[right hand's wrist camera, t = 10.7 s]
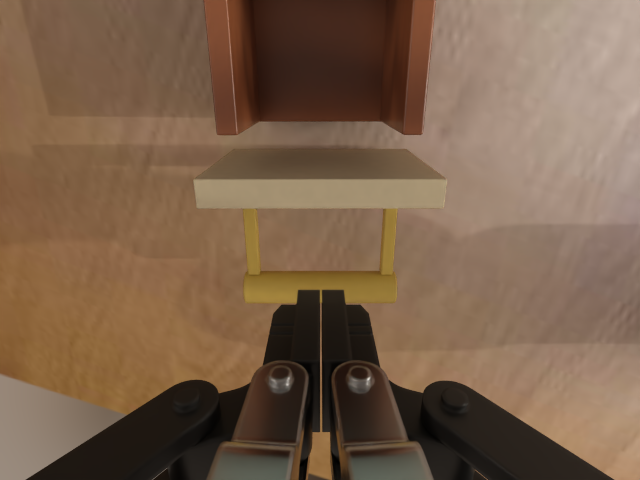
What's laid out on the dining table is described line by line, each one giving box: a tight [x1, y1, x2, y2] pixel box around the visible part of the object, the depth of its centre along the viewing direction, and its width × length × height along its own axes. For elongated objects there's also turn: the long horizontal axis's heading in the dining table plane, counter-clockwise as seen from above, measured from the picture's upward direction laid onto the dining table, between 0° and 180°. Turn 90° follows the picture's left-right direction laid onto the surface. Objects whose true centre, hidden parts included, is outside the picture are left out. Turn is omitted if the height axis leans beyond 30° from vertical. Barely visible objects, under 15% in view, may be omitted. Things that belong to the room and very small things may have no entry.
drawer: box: [193, 0, 447, 303], centre depth 17 cm, size 22×10×8 cm, turn 0°
